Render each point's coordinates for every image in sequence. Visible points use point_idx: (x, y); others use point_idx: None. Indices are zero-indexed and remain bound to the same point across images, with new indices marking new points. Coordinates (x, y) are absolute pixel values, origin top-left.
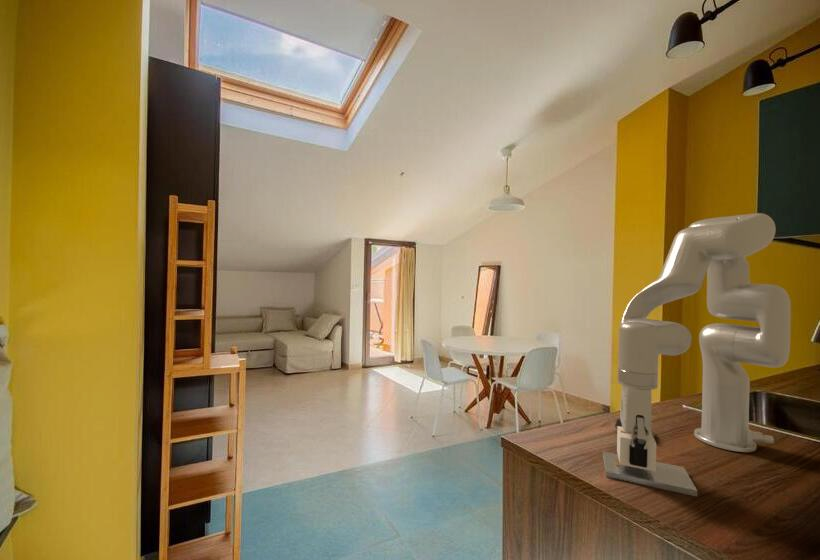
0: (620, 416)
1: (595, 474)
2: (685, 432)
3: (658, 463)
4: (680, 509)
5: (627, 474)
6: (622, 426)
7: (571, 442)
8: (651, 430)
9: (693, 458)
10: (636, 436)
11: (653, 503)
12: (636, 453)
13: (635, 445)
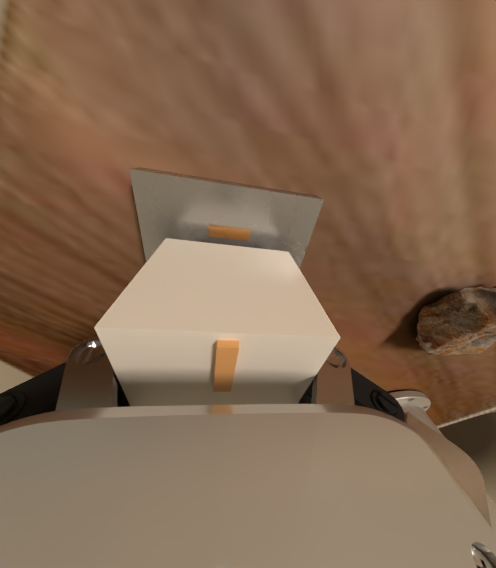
0: (376, 452)
1: (134, 116)
2: (429, 383)
3: None
4: (84, 320)
5: (155, 249)
6: (151, 418)
7: (477, 34)
8: (443, 354)
9: None
10: (183, 392)
11: (61, 277)
12: None
13: (49, 370)
